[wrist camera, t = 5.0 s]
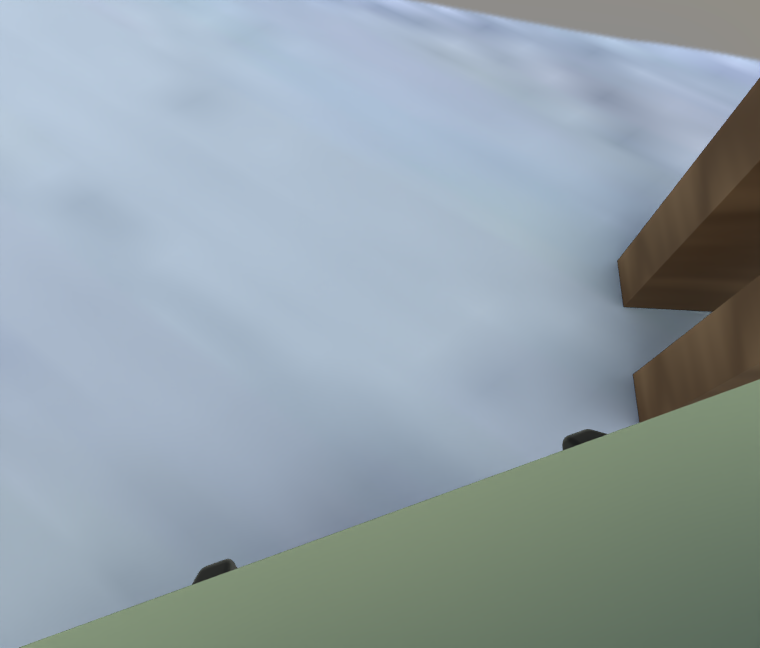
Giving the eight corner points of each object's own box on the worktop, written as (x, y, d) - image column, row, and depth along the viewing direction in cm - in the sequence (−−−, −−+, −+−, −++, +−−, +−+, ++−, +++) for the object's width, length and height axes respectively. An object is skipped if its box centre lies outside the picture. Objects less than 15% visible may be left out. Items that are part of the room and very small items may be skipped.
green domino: (524, 609, 14) (1429, 770, 2) (325, 689, 13) (-86, 1679, 1) (491, 526, 15) (1006, 288, 3) (301, 597, 14) (-96, 690, 2)
